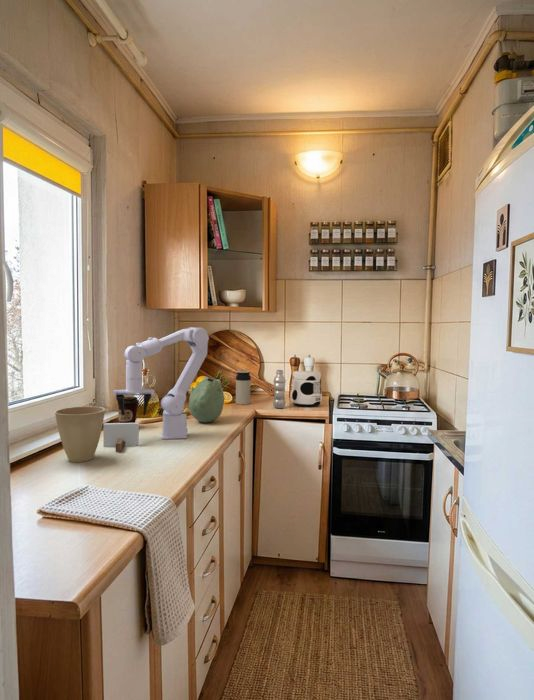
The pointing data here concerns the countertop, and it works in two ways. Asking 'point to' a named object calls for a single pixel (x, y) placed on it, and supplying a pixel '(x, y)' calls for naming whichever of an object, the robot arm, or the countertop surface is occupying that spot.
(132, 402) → the coffee cup
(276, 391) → the plastic bottle
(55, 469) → the countertop surface
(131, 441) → the grey arch block
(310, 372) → the milk container
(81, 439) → the plant pot
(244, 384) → the travel mug
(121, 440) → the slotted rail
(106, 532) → the countertop surface
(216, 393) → the green faceted ovoid
